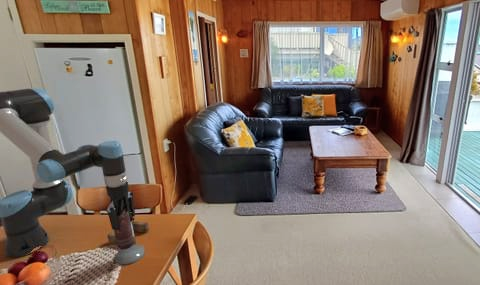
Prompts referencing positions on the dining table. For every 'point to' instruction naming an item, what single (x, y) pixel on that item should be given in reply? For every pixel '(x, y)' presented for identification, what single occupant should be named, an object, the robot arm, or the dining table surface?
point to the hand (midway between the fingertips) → (127, 239)
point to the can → (124, 231)
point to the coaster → (130, 254)
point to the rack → (136, 227)
